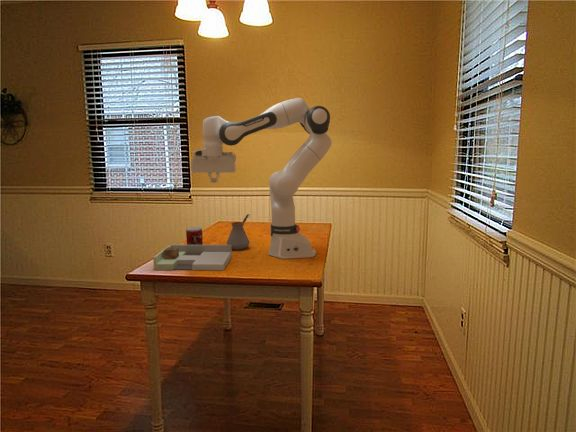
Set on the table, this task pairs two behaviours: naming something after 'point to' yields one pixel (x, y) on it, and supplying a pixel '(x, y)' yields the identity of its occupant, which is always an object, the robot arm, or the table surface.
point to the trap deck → (195, 258)
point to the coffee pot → (238, 236)
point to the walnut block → (171, 252)
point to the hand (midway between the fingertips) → (214, 182)
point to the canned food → (194, 236)
